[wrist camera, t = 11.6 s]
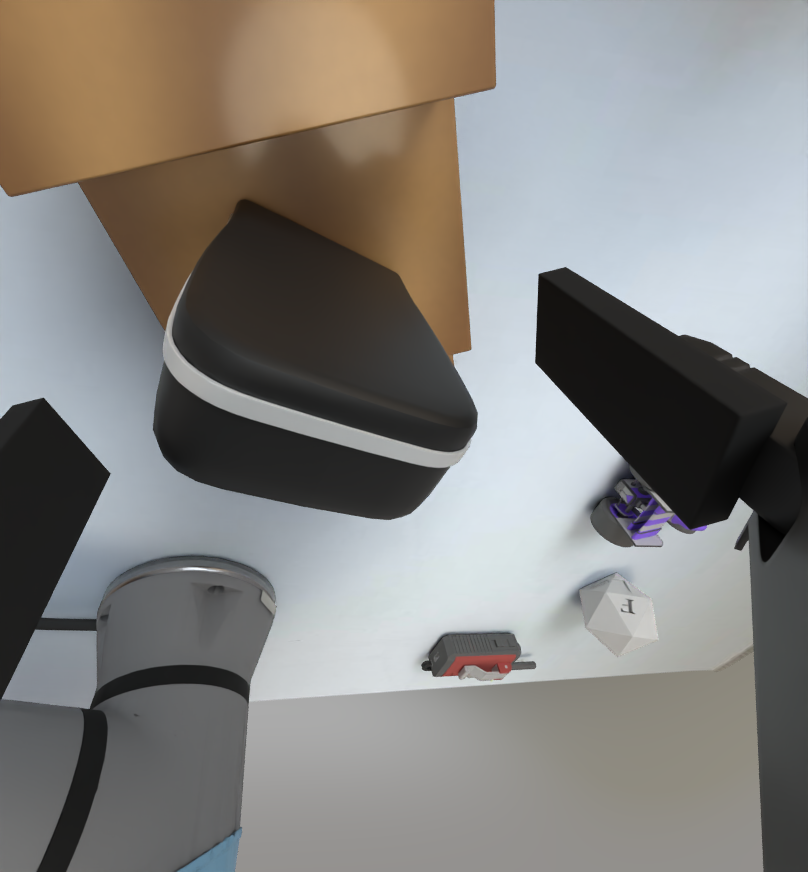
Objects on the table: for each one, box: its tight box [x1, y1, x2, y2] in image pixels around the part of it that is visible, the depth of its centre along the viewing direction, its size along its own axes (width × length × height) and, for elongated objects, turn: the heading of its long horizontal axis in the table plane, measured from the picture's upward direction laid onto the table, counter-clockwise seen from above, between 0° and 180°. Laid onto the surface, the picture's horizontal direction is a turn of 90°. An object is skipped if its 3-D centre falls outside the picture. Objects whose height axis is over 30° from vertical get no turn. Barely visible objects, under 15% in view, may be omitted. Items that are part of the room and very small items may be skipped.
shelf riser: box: [0, 0, 496, 365], centre depth 19 cm, size 13×24×12 cm, turn 10°
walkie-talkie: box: [421, 634, 536, 681], centre depth 60 cm, size 9×4×20 cm
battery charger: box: [153, 199, 478, 520], centre depth 13 cm, size 7×4×11 cm, turn 62°
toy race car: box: [590, 465, 707, 547], centre depth 42 cm, size 10×15×6 cm, turn 75°
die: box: [579, 573, 659, 657], centre depth 54 cm, size 8×9×10 cm
